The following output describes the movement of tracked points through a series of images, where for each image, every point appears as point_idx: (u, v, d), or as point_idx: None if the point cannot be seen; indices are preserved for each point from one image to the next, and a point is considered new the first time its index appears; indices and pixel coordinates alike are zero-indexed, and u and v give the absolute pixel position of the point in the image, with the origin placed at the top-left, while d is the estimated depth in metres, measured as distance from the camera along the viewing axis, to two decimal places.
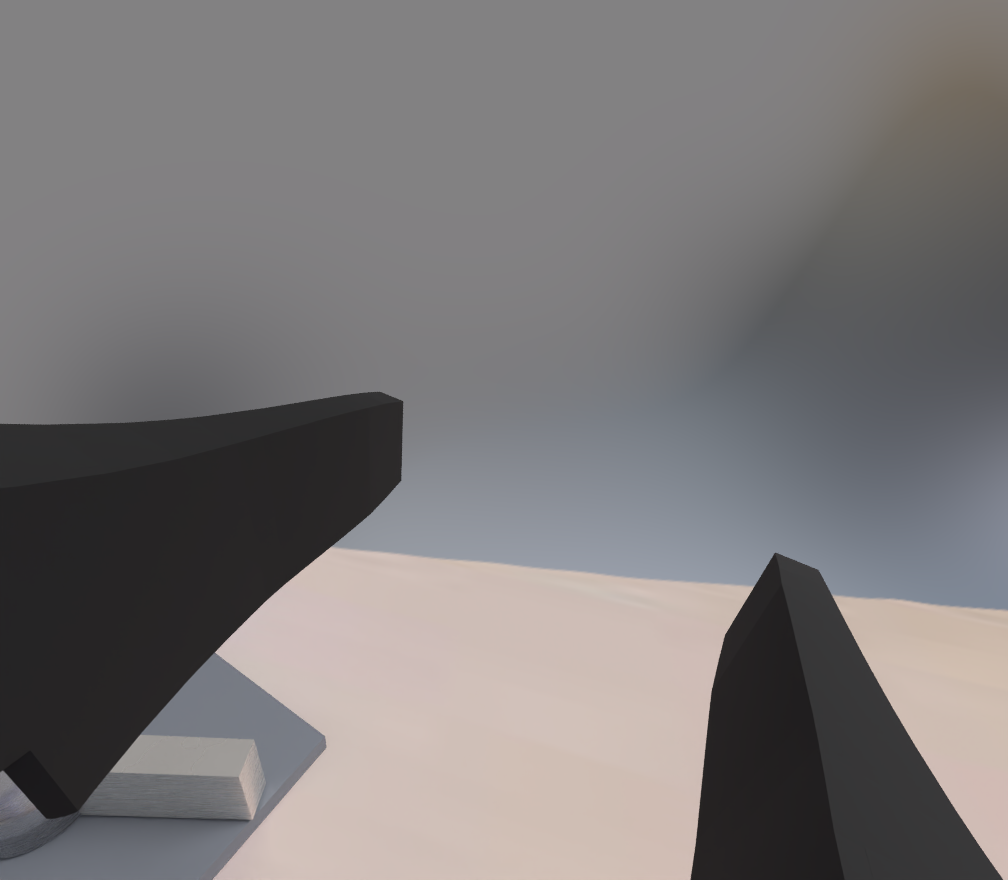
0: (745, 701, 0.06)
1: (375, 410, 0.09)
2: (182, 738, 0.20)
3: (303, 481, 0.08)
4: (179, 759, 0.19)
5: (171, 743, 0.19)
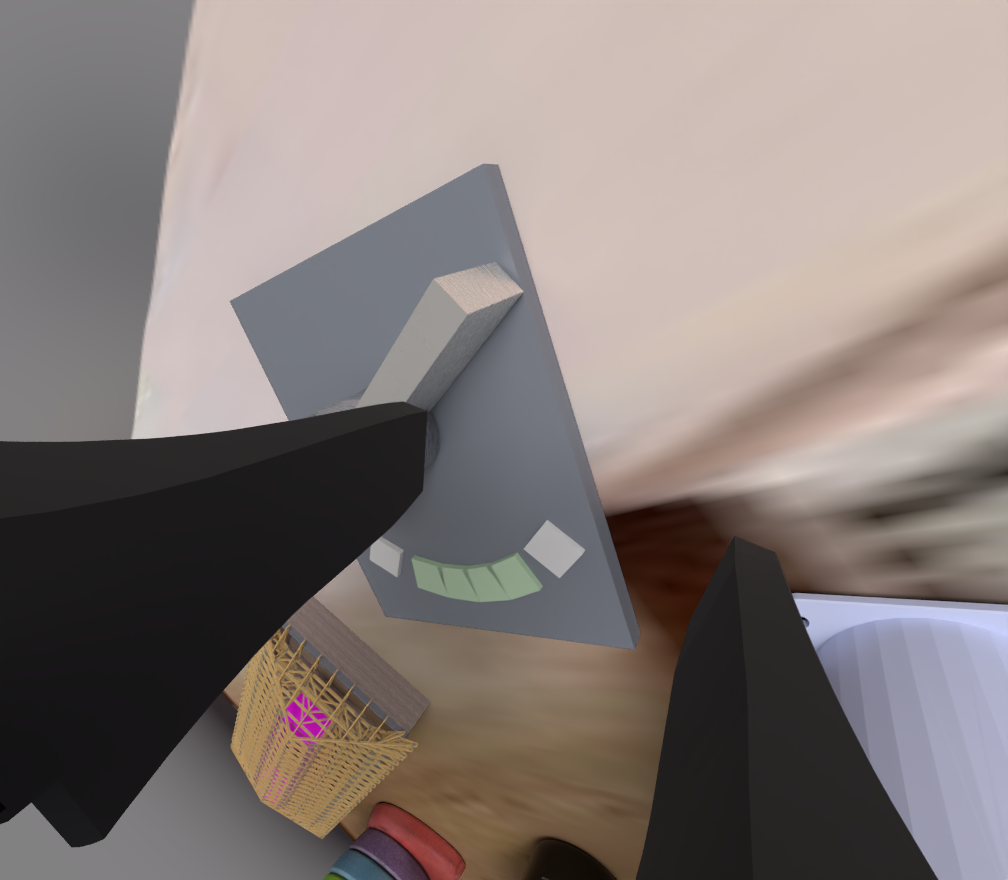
0: (697, 677, 0.06)
1: (401, 421, 0.09)
2: (394, 347, 0.15)
3: (330, 495, 0.08)
4: (415, 359, 0.15)
5: (394, 358, 0.15)
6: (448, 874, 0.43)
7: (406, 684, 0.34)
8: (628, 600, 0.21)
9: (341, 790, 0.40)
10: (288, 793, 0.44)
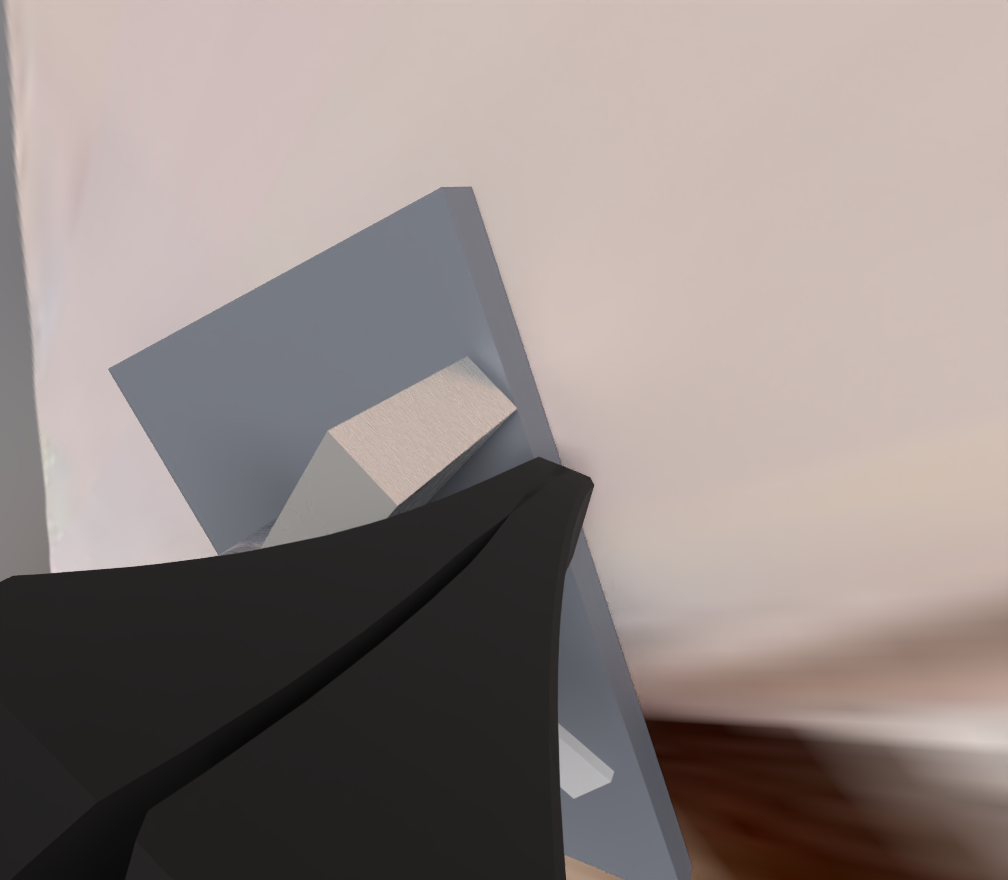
0: None
1: None
2: (278, 525, 0.08)
3: None
4: None
5: (281, 541, 0.09)
6: None
7: None
8: (676, 829, 0.14)
9: None
10: None
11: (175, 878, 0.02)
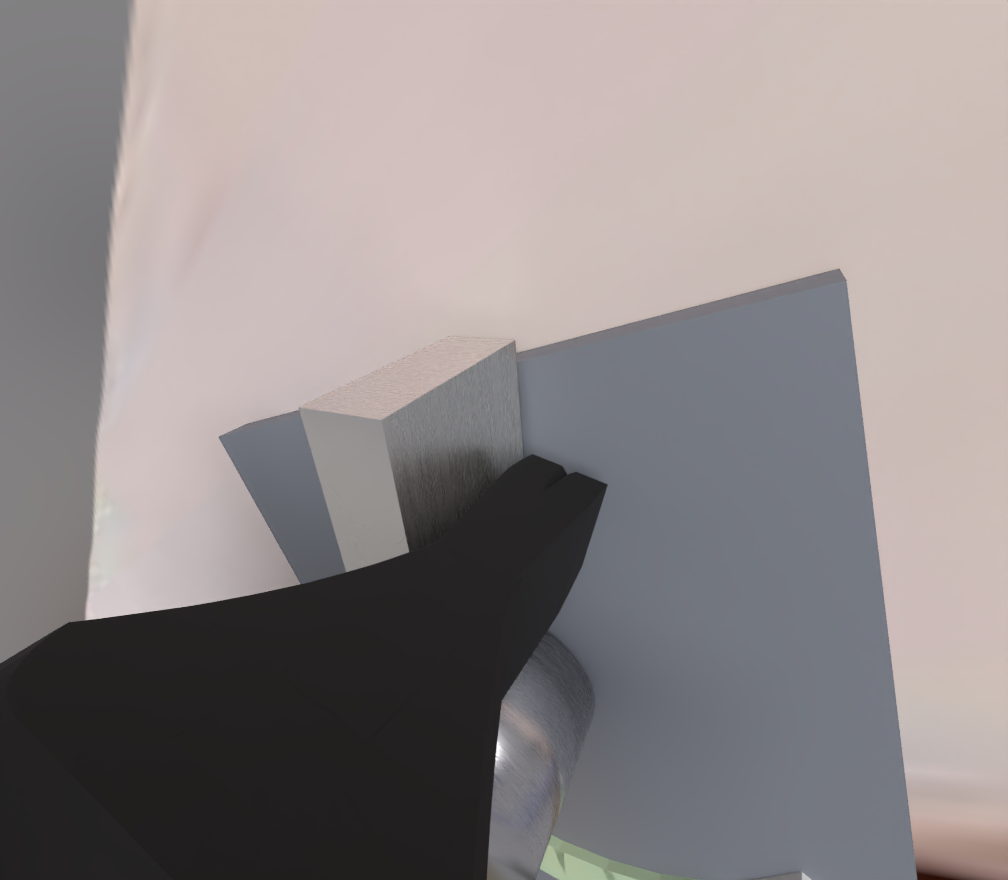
0: None
1: None
2: None
3: (534, 602, 0.07)
4: None
5: None
6: None
7: None
8: None
9: None
10: None
11: (106, 806, 0.02)
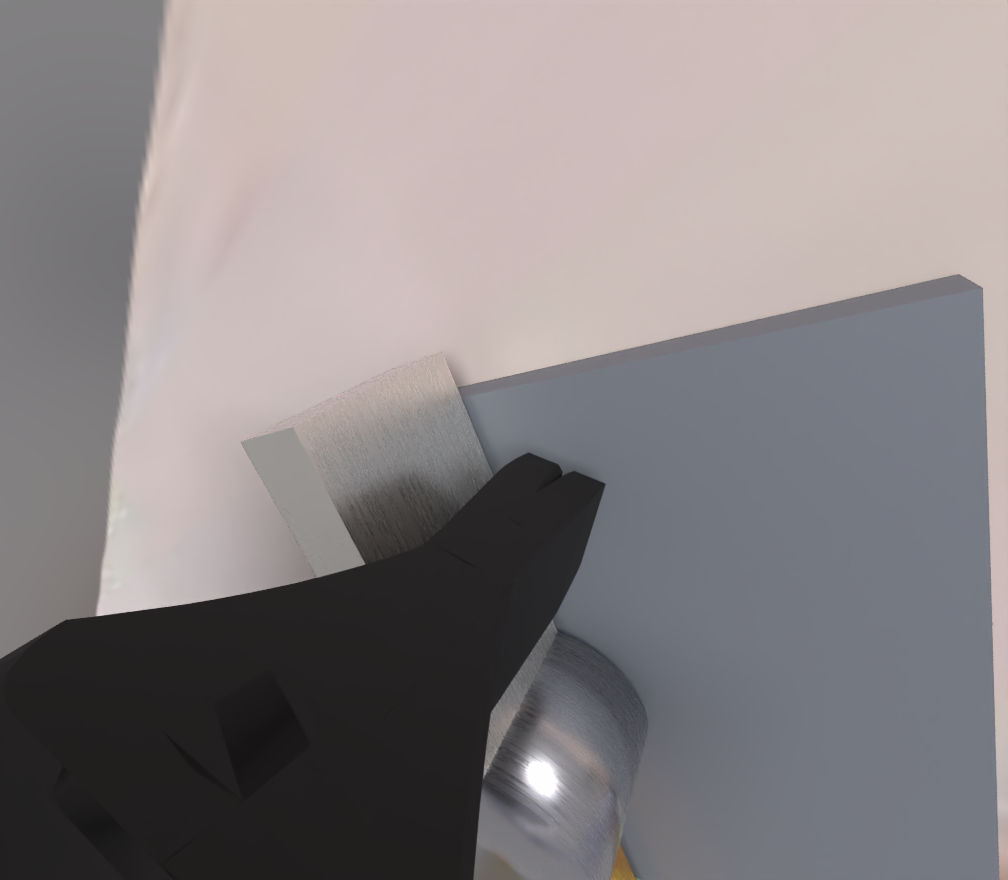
0: None
1: None
2: None
3: (532, 601, 0.07)
4: None
5: None
6: None
7: None
8: None
9: None
10: None
11: (95, 796, 0.02)
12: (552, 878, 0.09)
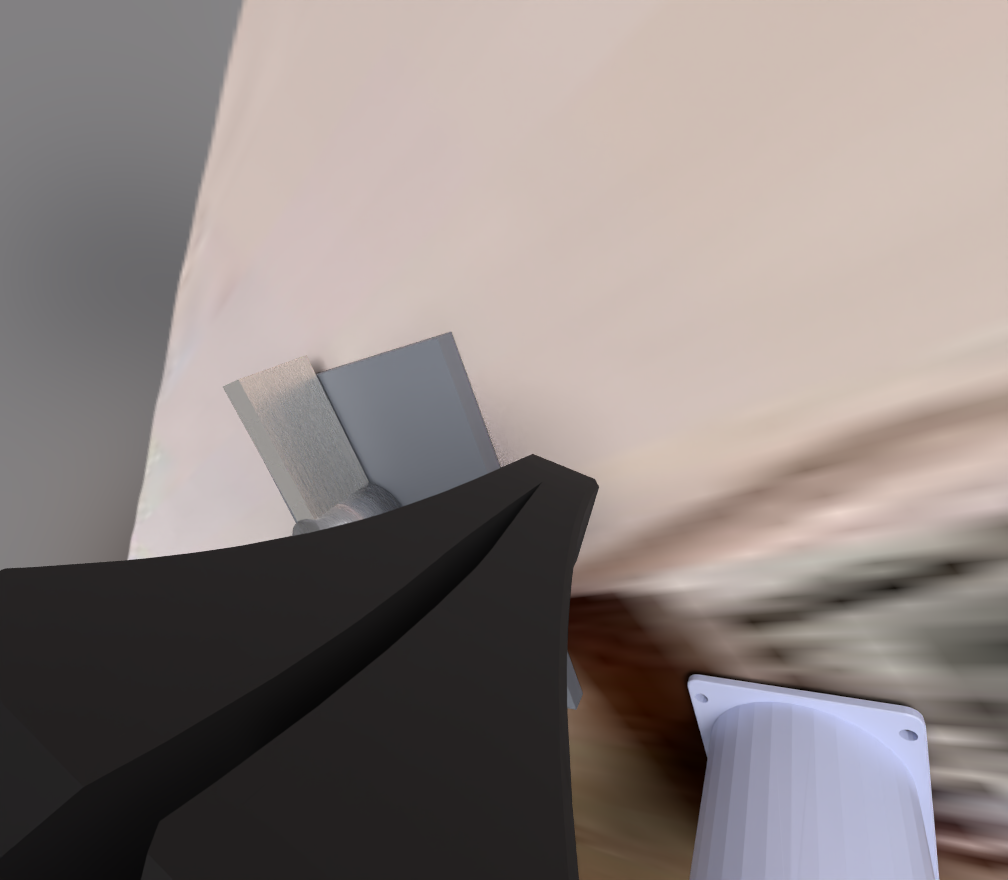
0: None
1: None
2: (255, 444, 0.22)
3: None
4: (261, 435, 0.21)
5: (261, 449, 0.22)
6: None
7: None
8: (571, 667, 0.25)
9: None
10: None
11: None
12: None
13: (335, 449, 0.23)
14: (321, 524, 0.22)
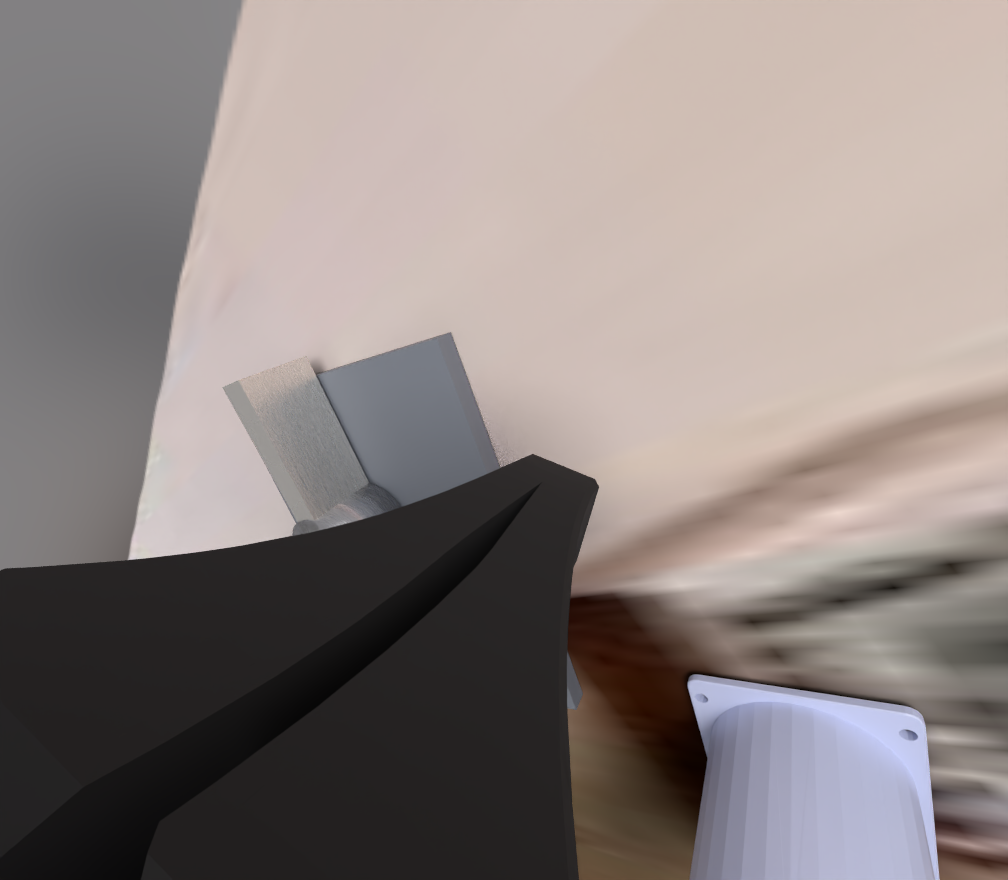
0: None
1: None
2: (255, 445, 0.22)
3: None
4: (261, 436, 0.21)
5: (261, 450, 0.22)
6: None
7: None
8: (571, 667, 0.25)
9: None
10: None
11: None
12: None
13: (335, 450, 0.23)
14: (321, 525, 0.22)
